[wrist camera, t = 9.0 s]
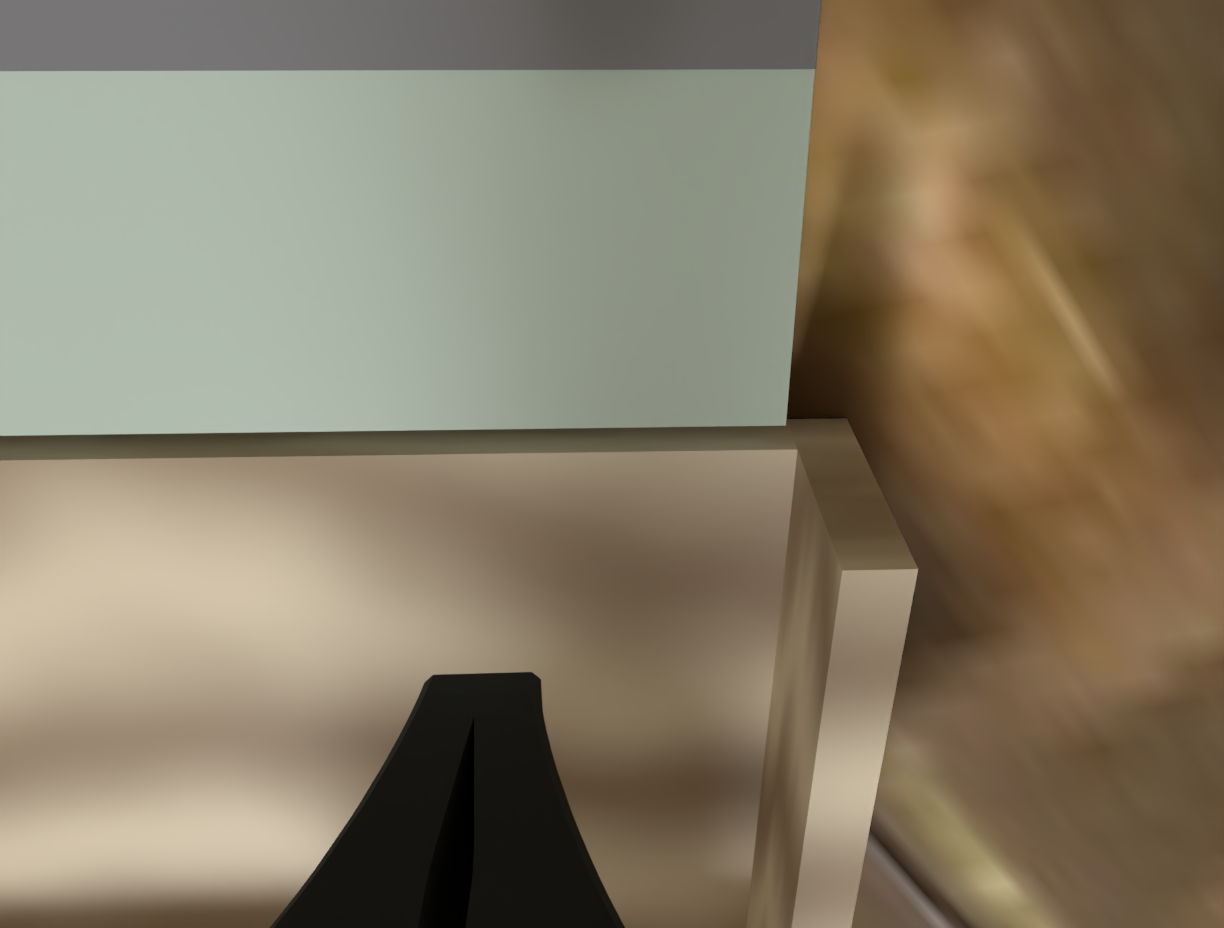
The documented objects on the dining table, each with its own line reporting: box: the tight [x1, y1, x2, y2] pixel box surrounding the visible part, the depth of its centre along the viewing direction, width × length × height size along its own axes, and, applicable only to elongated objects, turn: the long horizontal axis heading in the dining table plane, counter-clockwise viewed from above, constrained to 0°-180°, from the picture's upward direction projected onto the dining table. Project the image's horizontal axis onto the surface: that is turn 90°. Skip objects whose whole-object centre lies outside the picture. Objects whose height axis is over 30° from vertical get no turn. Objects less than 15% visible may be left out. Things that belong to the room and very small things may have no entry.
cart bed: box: [0, 418, 918, 928], centre depth 23 cm, size 17×22×5 cm
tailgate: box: [0, 0, 821, 436], centre depth 18 cm, size 1×19×7 cm
